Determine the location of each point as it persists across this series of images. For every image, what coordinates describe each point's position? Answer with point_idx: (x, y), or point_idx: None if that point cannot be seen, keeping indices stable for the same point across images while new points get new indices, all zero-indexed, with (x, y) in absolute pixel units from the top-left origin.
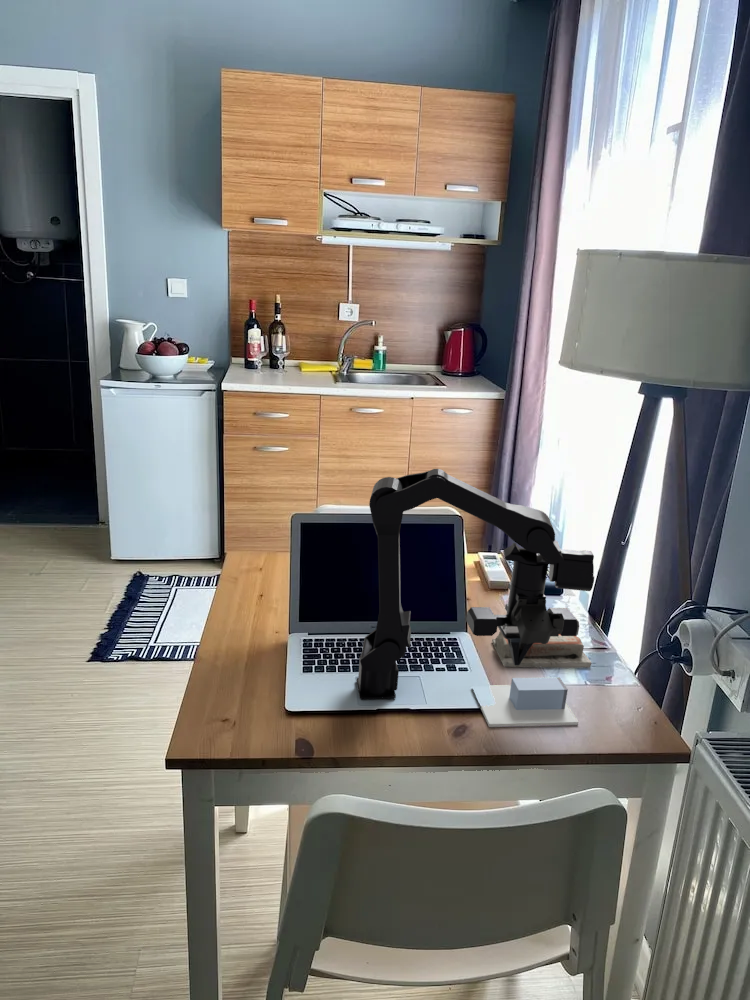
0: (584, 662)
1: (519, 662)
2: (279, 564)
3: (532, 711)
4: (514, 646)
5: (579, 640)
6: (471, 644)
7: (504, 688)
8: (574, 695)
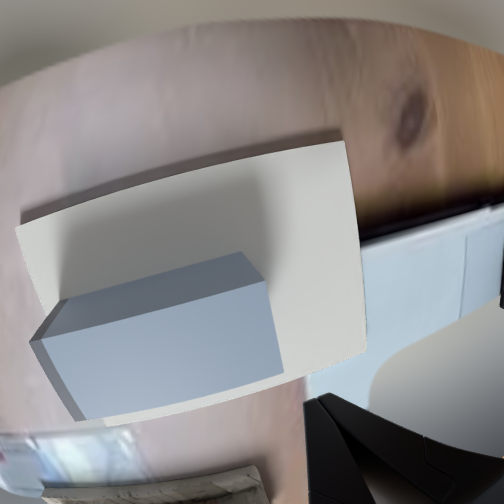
0: (54, 498)
1: (315, 411)
2: None
3: (176, 255)
4: (451, 462)
5: None
6: None
7: None
8: (45, 390)
